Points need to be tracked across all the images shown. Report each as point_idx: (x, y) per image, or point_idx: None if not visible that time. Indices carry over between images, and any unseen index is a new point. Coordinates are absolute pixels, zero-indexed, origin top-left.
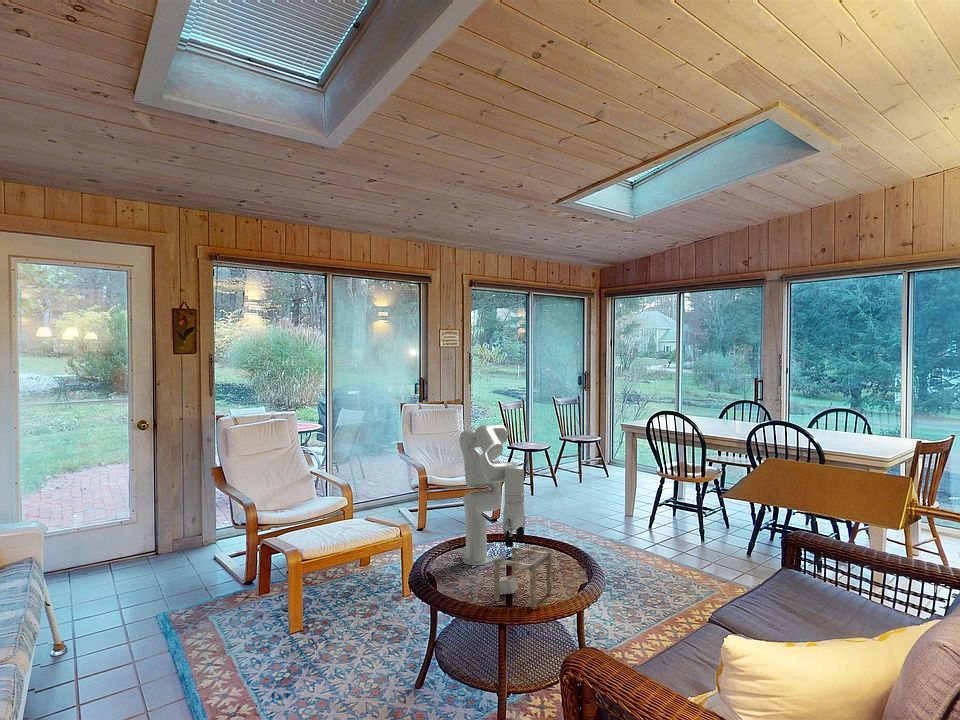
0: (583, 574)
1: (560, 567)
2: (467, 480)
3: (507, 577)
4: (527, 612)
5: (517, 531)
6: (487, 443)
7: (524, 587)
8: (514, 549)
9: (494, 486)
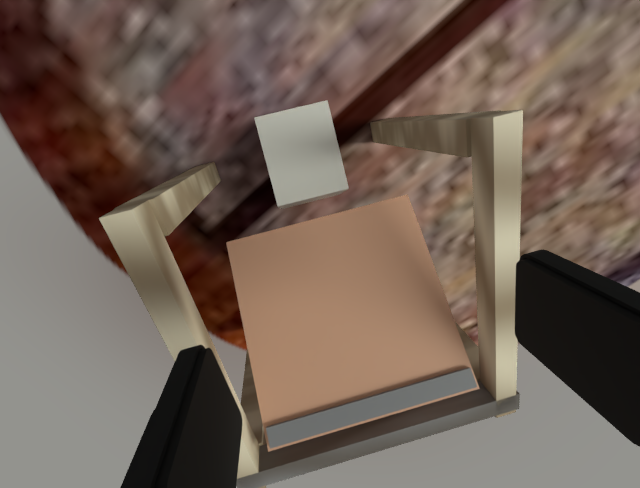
0: (626, 251)
1: None
2: None
3: (316, 157)
4: (228, 319)
5: (628, 341)
6: None
7: (403, 166)
8: (484, 148)
9: None
